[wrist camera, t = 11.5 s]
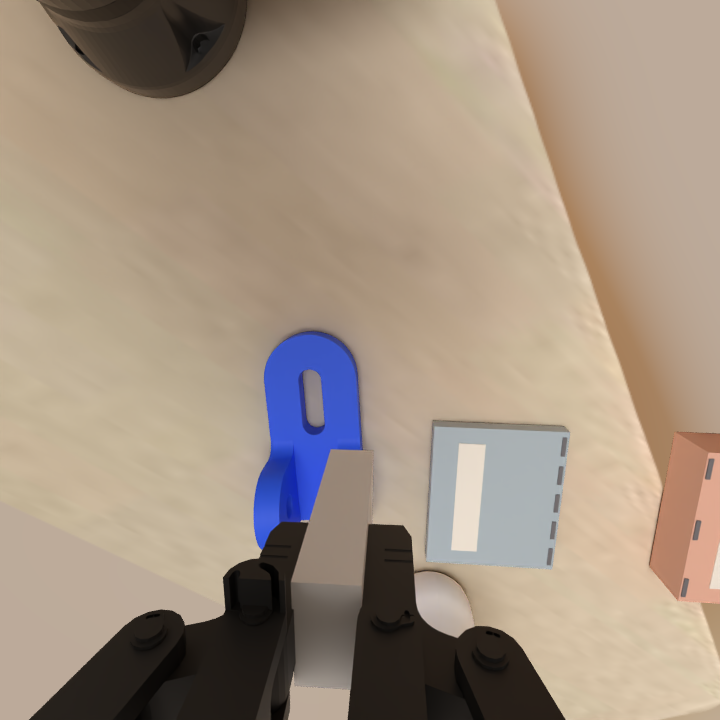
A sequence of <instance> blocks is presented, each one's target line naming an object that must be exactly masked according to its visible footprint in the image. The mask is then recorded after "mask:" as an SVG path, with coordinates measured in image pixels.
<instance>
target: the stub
mask: <svg viewBox="0 0 720 720" xmlns="http://www.w3.org/2000/svg"><path fill="white" fill-rule="evenodd" d="M650 568H651V569H652V570H653V571H654V573H655V574H656V575H657V576H658V577H659V579H660V580H661V581H662V582H663V583H664V585H665V586H666V587H667V588H668V589H669V591H670V592H671V593H672V594H673V595H674V597H675V598H676V599H677V600H678V601H688V602H703V603H719V604H720V434H716V433H692V432H675V433H674V438H673V443H672V449H671V454H670V460H669V465H668V470H667V476H666V481H665V486H664V492H663V497H662V502H661V508H660V513H659V518H658V524H657V529H656V535H655V540H654V545H653V551H652V556H651V561H650Z"/></svg>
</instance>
